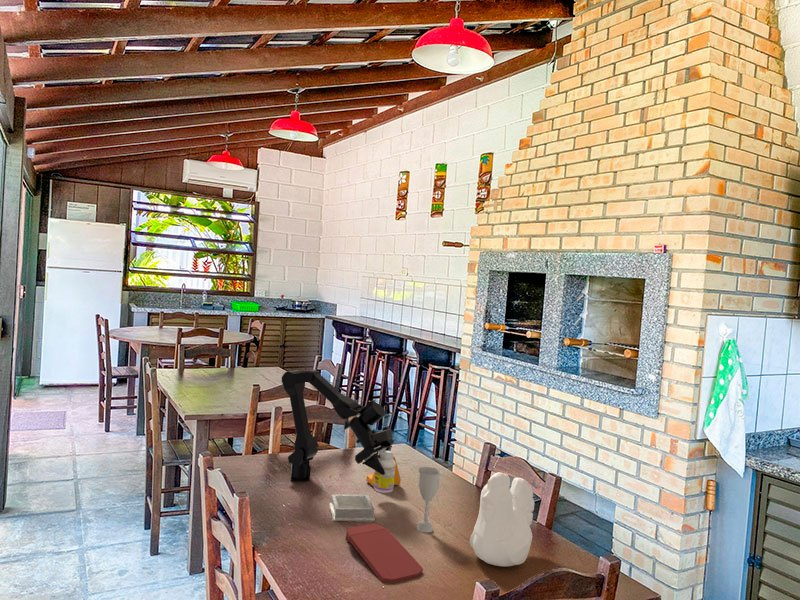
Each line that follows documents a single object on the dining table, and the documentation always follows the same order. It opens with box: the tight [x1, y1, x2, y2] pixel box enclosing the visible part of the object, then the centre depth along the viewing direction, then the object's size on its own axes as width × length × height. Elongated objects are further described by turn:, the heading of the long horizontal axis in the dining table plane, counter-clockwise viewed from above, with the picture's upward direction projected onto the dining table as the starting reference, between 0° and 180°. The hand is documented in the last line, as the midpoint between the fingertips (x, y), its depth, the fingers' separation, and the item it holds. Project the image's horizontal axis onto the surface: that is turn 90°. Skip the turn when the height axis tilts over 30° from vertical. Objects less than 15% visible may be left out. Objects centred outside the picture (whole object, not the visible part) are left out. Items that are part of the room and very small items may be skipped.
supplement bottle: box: [373, 450, 397, 494], centre depth 197 cm, size 7×7×13 cm
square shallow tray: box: [328, 493, 376, 522], centre depth 185 cm, size 13×13×4 cm
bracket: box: [366, 456, 402, 488], centre depth 213 cm, size 11×7×12 cm, turn 116°
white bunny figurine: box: [469, 471, 535, 567], centre depth 163 cm, size 25×16×25 cm, turn 126°
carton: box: [345, 523, 424, 583], centre depth 157 cm, size 12×5×25 cm
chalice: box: [416, 466, 443, 533], centre depth 177 cm, size 7×7×18 cm
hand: (388, 471), depth 196 cm, fingers closed on supplement bottle, 7 cm apart
